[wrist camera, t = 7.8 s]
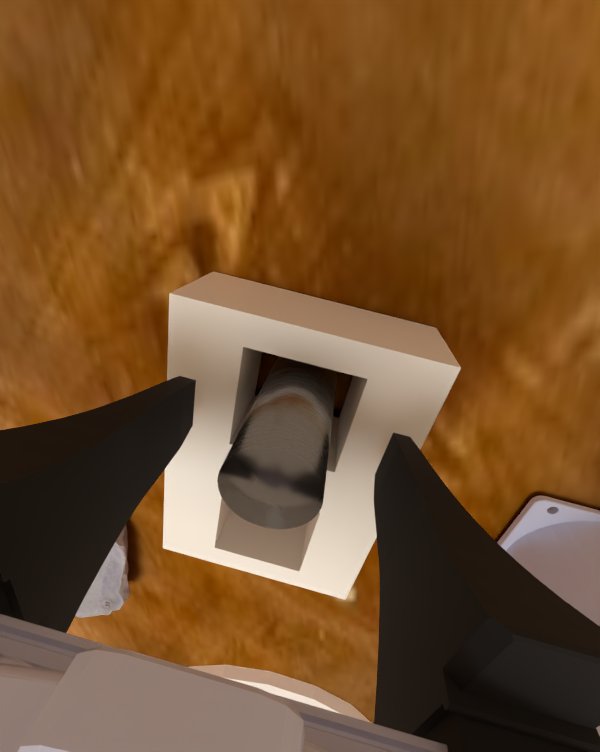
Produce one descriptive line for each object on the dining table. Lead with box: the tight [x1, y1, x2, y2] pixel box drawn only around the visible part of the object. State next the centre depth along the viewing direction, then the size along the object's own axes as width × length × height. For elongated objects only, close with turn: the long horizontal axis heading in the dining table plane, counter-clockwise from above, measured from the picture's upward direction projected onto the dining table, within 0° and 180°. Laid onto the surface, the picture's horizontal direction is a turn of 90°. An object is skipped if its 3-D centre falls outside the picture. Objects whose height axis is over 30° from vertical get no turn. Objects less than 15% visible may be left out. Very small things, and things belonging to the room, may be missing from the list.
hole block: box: [163, 271, 461, 599], centre depth 16 cm, size 10×14×4 cm
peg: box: [217, 356, 338, 529], centre depth 13 cm, size 3×3×8 cm
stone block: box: [75, 525, 130, 618], centre depth 25 cm, size 12×5×10 cm
